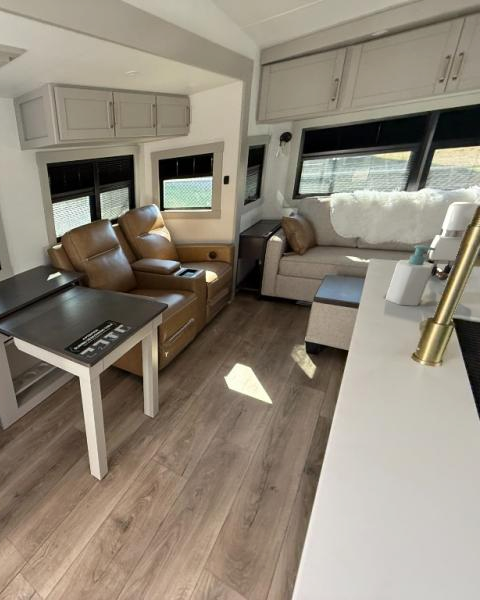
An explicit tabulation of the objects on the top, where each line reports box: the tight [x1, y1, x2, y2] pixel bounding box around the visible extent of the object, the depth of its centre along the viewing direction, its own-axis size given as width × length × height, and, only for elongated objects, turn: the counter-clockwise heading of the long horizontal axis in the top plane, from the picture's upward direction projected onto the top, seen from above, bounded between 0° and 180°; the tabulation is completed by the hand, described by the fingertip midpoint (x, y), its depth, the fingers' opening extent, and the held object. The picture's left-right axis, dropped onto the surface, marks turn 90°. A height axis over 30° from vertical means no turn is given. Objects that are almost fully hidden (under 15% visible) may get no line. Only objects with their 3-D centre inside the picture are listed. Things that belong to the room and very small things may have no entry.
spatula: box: [434, 267, 449, 281], centre depth 139 cm, size 18×6×3 cm, turn 146°
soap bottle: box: [385, 244, 435, 307], centre depth 120 cm, size 10×9×22 cm
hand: (438, 274), depth 138 cm, fingers closed on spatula, 3 cm apart
